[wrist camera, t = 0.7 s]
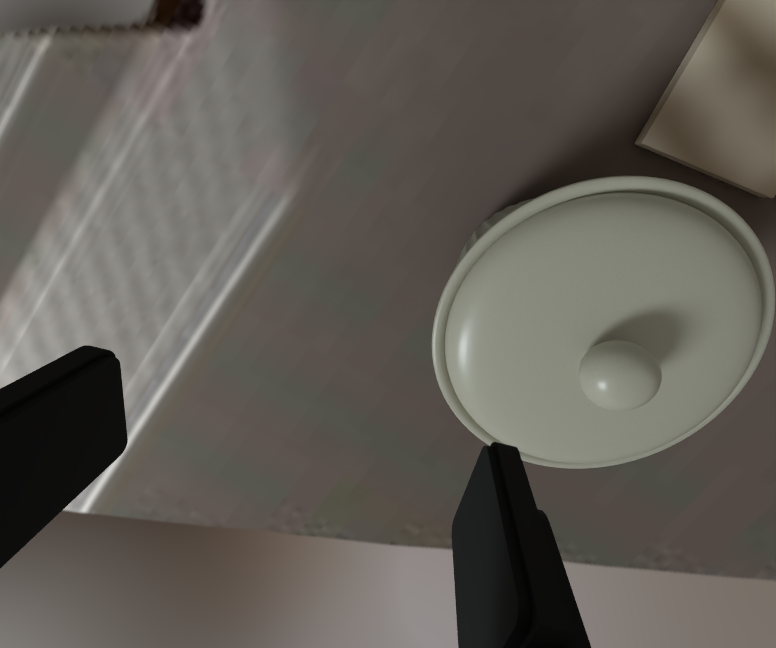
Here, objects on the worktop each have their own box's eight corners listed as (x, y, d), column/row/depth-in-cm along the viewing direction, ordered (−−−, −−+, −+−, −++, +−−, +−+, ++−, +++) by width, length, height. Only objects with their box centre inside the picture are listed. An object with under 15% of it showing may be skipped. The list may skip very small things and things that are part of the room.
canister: (661, 194, 33) (998, 237, 13) (579, 370, 40) (720, 563, 21) (458, 151, 33) (499, 131, 14) (413, 333, 40) (398, 489, 21)
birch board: (779, -106, 25) (795, -119, 24) (934, -34, 26) (957, -43, 24) (633, 143, 31) (641, 143, 30) (761, 197, 32) (772, 198, 31)
